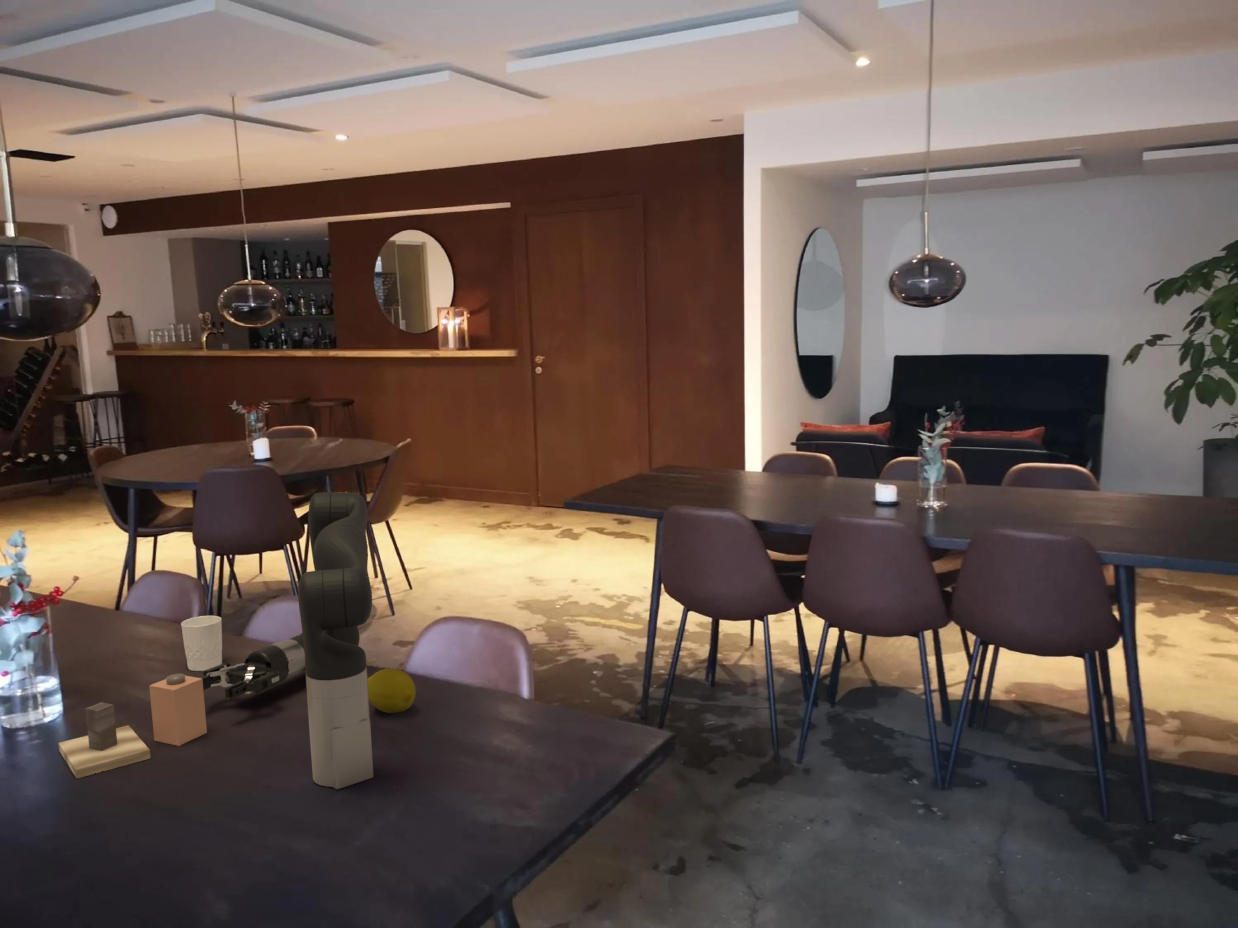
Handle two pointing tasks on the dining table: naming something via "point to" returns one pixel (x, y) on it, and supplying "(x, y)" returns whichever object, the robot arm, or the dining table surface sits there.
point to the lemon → (391, 690)
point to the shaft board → (105, 757)
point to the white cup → (202, 642)
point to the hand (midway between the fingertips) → (209, 690)
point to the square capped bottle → (178, 709)
